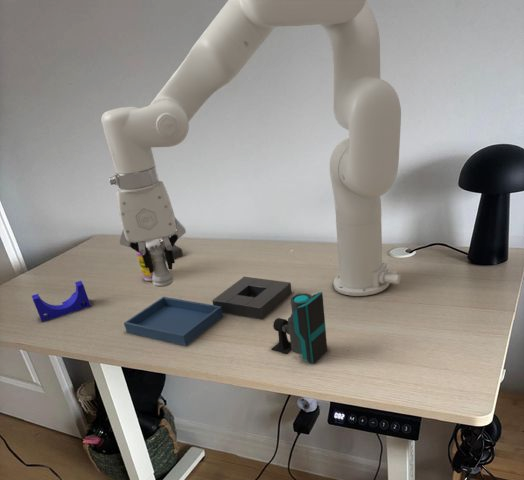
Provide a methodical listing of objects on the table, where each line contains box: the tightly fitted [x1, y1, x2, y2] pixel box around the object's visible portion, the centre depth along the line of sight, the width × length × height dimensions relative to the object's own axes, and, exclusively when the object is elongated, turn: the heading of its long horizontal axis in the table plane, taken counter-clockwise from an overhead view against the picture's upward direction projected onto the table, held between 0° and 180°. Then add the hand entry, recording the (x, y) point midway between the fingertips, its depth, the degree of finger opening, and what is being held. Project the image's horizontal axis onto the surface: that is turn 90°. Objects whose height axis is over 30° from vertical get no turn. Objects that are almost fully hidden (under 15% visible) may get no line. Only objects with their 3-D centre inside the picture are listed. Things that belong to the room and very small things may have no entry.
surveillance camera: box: [271, 291, 328, 364], centre depth 95 cm, size 6×12×10 cm
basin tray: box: [123, 296, 224, 347], centre depth 115 cm, size 17×13×2 cm
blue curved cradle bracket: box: [31, 280, 92, 323], centre depth 129 cm, size 12×4×6 cm, turn 117°
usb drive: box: [160, 240, 184, 262], centre depth 155 cm, size 5×12×3 cm, turn 30°
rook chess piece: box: [149, 245, 174, 288], centre depth 108 cm, size 4×4×8 cm
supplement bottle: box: [135, 239, 161, 282], centre depth 137 cm, size 7×7×13 cm
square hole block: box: [211, 276, 293, 320], centre depth 118 cm, size 13×13×3 cm
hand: (161, 267), depth 108 cm, fingers closed on rook chess piece, 3 cm apart
